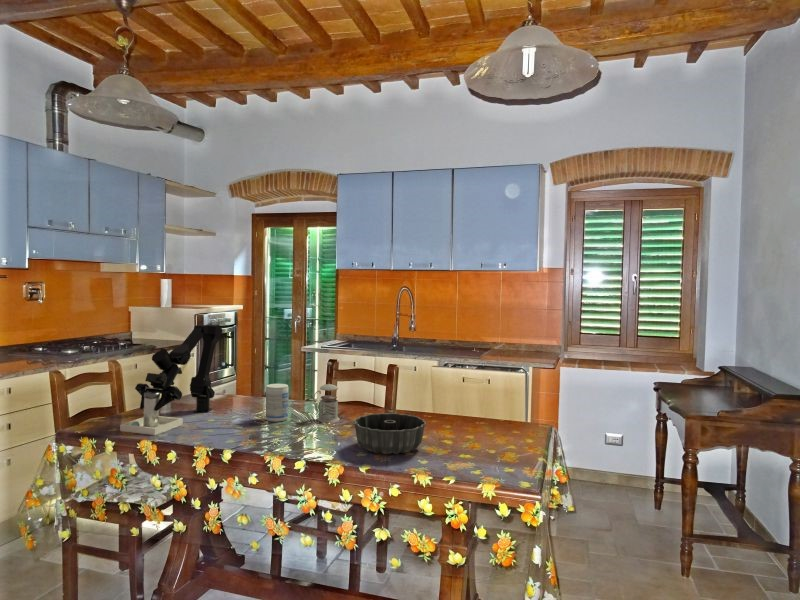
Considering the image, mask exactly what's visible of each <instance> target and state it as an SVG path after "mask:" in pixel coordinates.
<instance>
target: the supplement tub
mask: <svg viewBox="0 0 800 600" xmlns="http://www.w3.org/2000/svg"><path fill="white" fill-rule="evenodd" d="M265 387H266V388H265V420H266V421H268V422H273V423H274V422H276V423H277V422H284V421H287V420H288V419H289V385H288V384H286V383H270V384H267V385H266V386H265Z"/></svg>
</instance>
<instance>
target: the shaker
mask: <svg viewBox="0 0 800 600" xmlns="http://www.w3.org/2000/svg"><path fill="white" fill-rule="evenodd" d="M160 398H161V394H160V392H158V391H148V392H144V408H143V417H144V418H143V427H152V428H156V427H158V424H159V416H160V409H159V410H157V411H155V407H156V405H157V403H158V402H159V400H160Z"/></svg>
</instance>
